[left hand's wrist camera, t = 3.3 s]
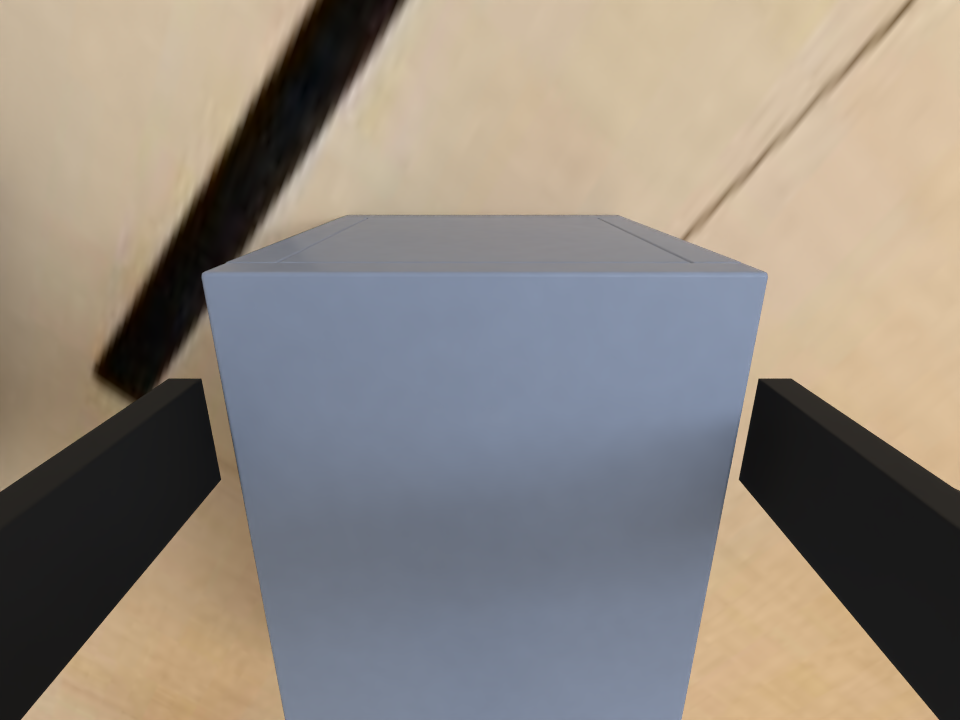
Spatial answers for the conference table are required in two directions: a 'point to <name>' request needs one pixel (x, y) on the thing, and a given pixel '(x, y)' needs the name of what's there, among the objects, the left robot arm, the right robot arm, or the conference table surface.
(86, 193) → the conference table surface
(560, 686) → the cabinet
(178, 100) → the conference table surface
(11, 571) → the left robot arm
